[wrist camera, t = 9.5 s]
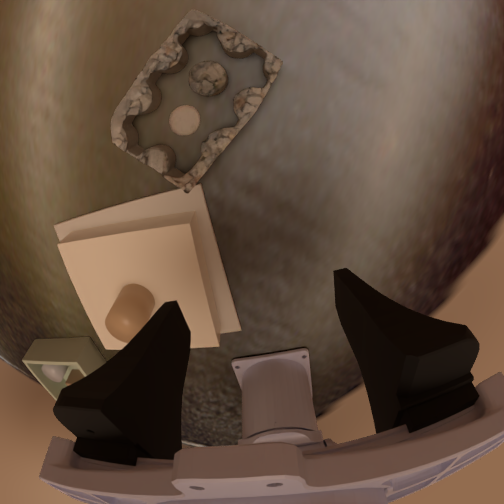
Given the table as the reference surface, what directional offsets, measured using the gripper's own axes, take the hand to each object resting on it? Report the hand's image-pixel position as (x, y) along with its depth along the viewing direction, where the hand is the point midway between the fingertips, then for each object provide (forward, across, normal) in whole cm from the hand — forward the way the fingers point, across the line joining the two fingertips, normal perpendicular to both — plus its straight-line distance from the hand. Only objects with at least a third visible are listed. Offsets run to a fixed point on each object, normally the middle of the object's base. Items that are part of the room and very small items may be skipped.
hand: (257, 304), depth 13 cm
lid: (+10, +10, +3) cm, 15 cm away
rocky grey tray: (+11, +2, -10) cm, 15 cm away
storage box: (+10, +25, +14) cm, 31 cm away
